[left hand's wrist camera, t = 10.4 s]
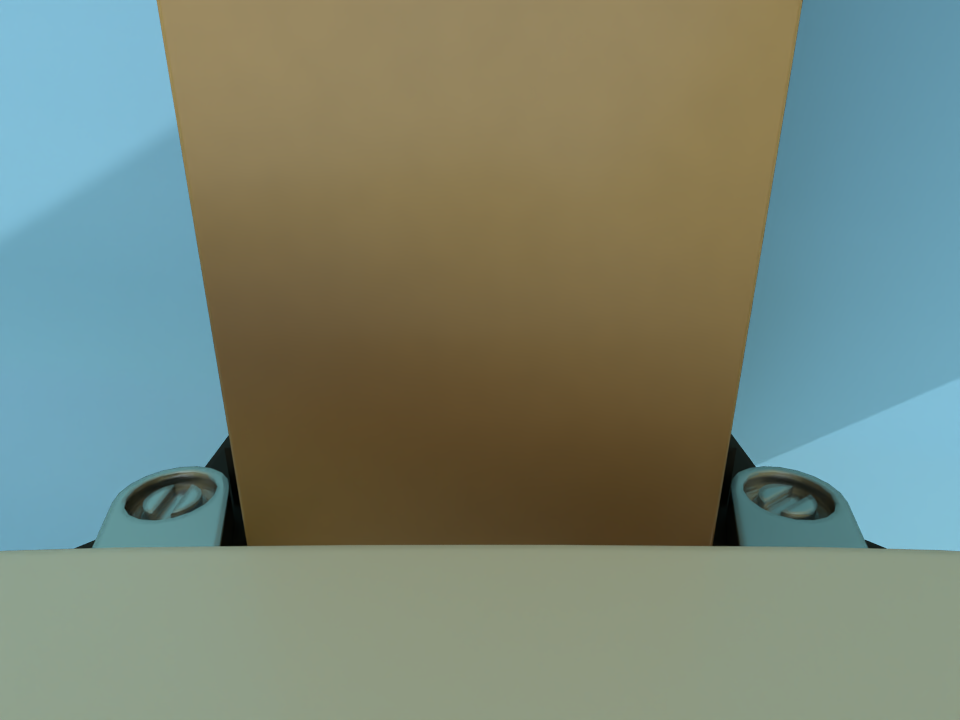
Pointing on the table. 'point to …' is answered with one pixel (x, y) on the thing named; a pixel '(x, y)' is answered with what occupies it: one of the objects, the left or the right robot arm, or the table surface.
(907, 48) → the table surface
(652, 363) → the bar
